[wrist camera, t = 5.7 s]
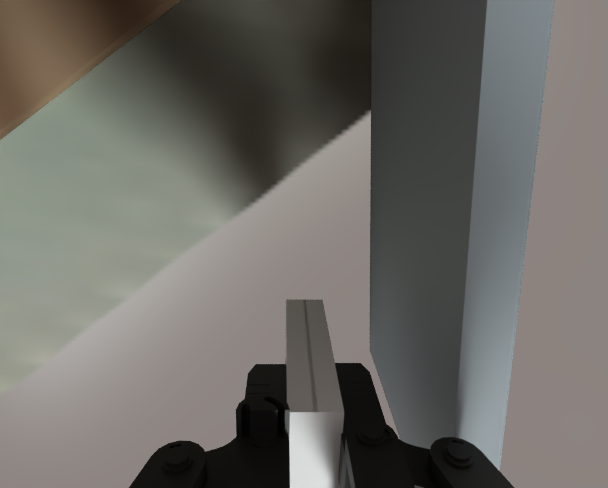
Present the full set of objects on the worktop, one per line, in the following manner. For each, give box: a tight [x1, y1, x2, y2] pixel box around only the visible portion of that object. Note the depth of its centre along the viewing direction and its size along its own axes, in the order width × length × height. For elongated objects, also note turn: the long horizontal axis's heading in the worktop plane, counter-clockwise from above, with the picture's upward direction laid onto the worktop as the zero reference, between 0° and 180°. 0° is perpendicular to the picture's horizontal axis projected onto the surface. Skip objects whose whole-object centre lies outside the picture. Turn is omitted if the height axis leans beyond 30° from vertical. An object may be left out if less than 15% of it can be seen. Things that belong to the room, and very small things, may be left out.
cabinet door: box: [370, 0, 554, 471], centre depth 14 cm, size 20×3×11 cm, turn 2°
